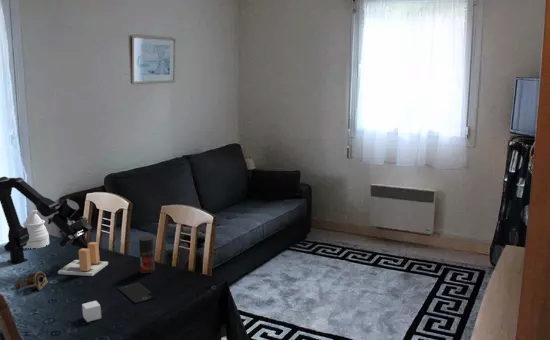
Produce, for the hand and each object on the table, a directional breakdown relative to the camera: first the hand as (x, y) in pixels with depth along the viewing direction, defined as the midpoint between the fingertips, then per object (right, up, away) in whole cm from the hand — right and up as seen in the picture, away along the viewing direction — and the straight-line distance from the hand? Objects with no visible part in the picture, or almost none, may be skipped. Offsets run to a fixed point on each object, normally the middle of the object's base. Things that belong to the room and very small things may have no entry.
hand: (89, 249), depth 241 cm
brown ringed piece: (-16, -13, -22) cm, 30 cm away
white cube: (+18, -17, -49) cm, 55 cm away
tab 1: (+1, -8, -8) cm, 11 cm away
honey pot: (-38, -2, +31) cm, 49 cm away
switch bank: (-2, -8, -3) cm, 9 cm away
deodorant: (+28, -9, -6) cm, 30 cm away
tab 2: (+2, -6, +1) cm, 6 cm away
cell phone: (+29, -14, -28) cm, 43 cm away
